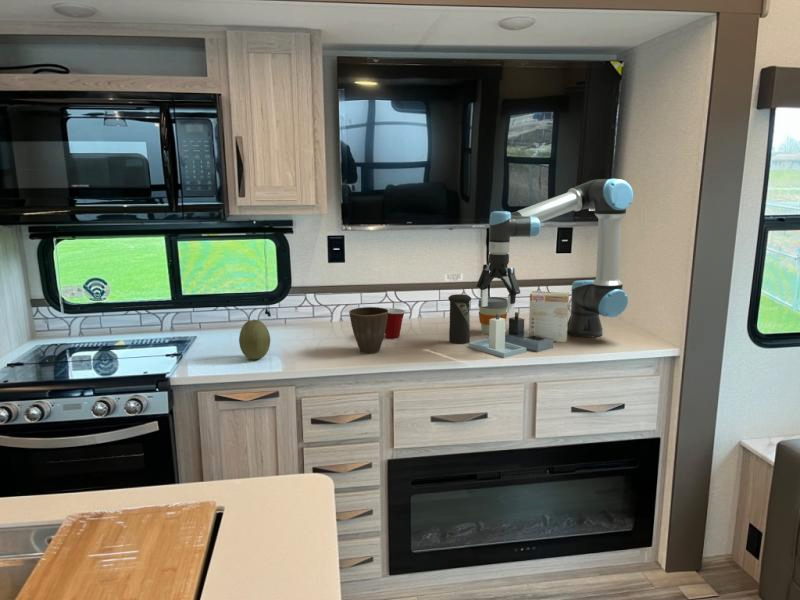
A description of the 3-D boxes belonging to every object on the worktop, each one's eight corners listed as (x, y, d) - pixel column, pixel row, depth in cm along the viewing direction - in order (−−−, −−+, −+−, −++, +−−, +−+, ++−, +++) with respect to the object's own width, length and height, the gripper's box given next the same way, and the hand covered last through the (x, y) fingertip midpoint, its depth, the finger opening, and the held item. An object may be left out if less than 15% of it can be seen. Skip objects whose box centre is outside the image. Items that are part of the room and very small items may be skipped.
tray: (490, 344, 239) (490, 337, 238) (526, 354, 224) (526, 347, 223) (468, 349, 232) (468, 342, 231) (504, 359, 217) (504, 353, 216)
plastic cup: (409, 339, 248) (409, 311, 246) (384, 341, 245) (383, 312, 242) (401, 333, 258) (400, 306, 256) (377, 335, 255) (376, 307, 252)
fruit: (276, 355, 225) (274, 317, 222) (262, 364, 215) (260, 323, 212) (249, 353, 228) (247, 315, 225) (234, 362, 217) (231, 322, 215)
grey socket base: (514, 339, 245) (515, 309, 243) (553, 350, 229) (554, 317, 227) (498, 343, 240) (499, 312, 237) (537, 354, 224) (538, 320, 222)
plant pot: (375, 358, 220) (375, 316, 217) (342, 353, 227) (341, 312, 224) (395, 349, 233) (395, 309, 230) (363, 344, 240) (362, 305, 237)
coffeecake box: (567, 338, 246) (569, 292, 243) (565, 342, 240) (568, 295, 236) (530, 335, 251) (532, 290, 248) (528, 340, 245) (529, 293, 241)
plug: (498, 347, 231) (498, 312, 228) (504, 349, 228) (505, 313, 225) (488, 349, 228) (489, 314, 225) (495, 351, 225) (496, 315, 222)
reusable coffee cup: (485, 338, 248) (486, 303, 245) (472, 331, 260) (473, 297, 257) (512, 335, 252) (513, 301, 249) (498, 329, 263) (499, 296, 261)
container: (464, 347, 234) (465, 297, 231) (444, 344, 239) (444, 295, 235) (473, 342, 242) (474, 294, 238) (454, 339, 246) (454, 292, 243)
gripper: (468, 251, 228) (467, 305, 232) (517, 257, 209) (515, 315, 213) (482, 249, 233) (480, 303, 237) (531, 255, 213) (529, 313, 217)
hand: (497, 309), depth 225 cm, fingers open, 13 cm apart
